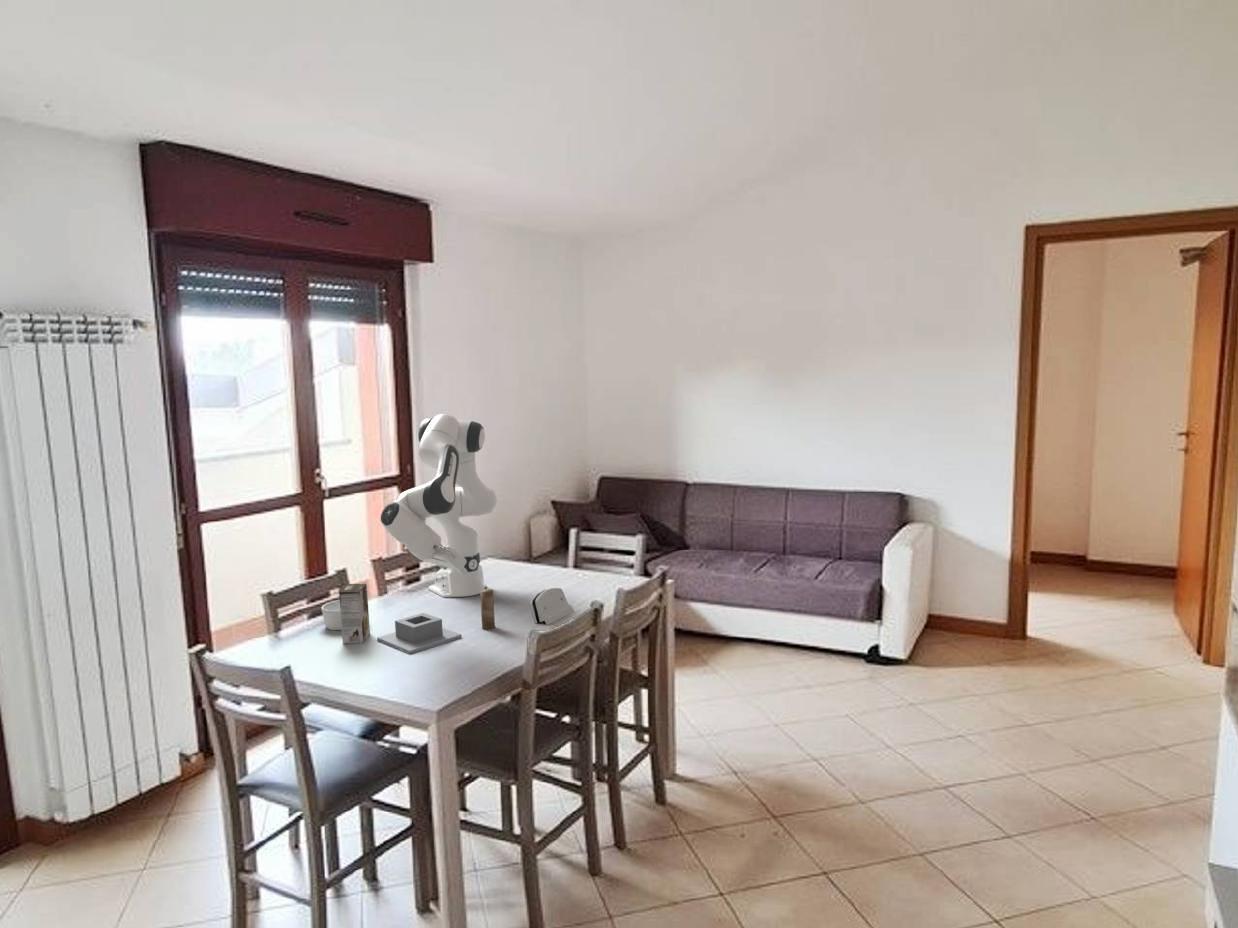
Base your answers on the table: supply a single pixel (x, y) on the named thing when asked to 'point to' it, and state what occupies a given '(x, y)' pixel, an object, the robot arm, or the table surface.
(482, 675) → the table surface
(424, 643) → the socket block
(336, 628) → the ramekin
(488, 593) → the pin
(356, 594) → the coffee box
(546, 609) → the hinge
